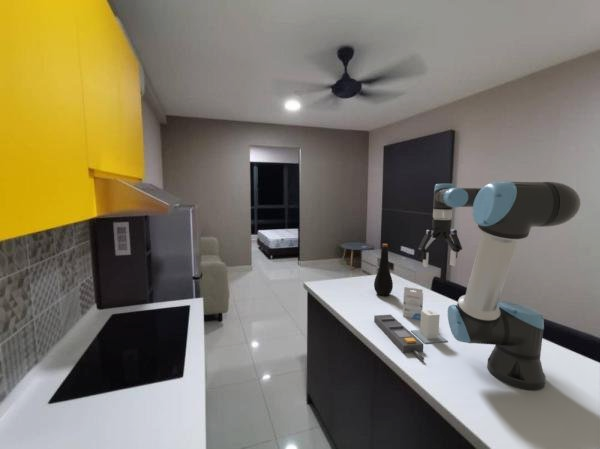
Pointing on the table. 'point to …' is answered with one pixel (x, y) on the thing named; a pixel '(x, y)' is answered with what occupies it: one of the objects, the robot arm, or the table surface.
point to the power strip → (399, 334)
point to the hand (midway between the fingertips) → (439, 266)
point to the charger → (429, 324)
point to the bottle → (383, 275)
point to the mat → (423, 339)
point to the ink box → (412, 303)
